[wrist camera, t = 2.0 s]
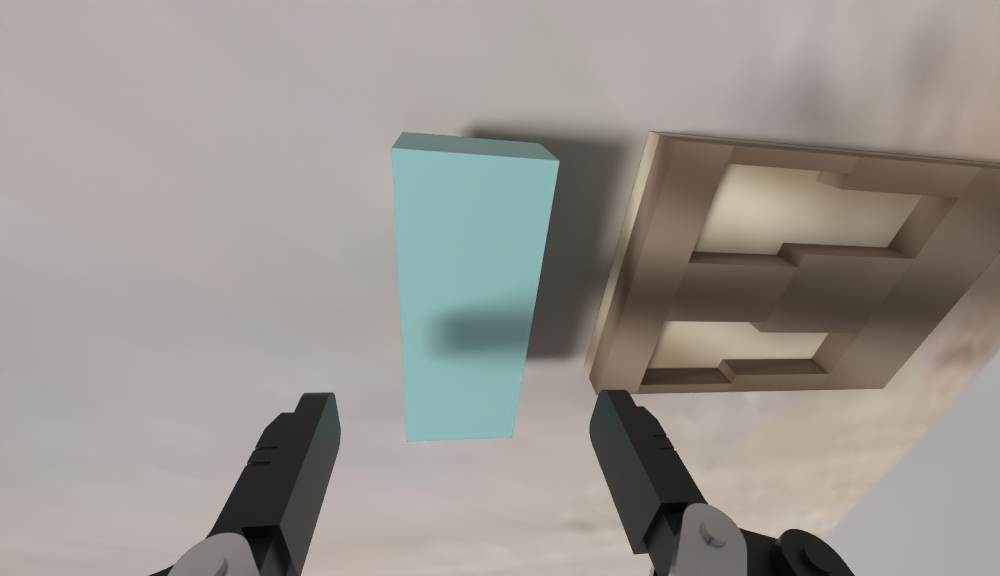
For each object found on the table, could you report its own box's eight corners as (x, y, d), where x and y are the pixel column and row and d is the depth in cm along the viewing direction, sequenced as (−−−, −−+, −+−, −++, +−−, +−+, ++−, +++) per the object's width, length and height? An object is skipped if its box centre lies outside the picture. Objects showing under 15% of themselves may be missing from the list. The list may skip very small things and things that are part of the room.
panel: (409, 122, 15) (391, 148, 11) (527, 133, 16) (559, 161, 11) (415, 361, 22) (406, 441, 17) (499, 360, 23) (512, 437, 18)
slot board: (649, 131, 17) (677, 140, 15) (1001, 163, 20) (1065, 175, 17) (583, 366, 24) (596, 394, 22) (849, 363, 27) (882, 388, 25)
